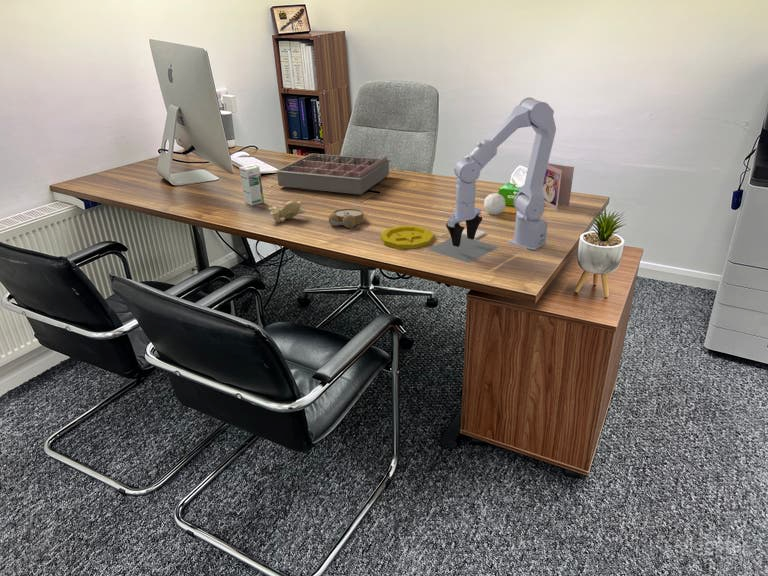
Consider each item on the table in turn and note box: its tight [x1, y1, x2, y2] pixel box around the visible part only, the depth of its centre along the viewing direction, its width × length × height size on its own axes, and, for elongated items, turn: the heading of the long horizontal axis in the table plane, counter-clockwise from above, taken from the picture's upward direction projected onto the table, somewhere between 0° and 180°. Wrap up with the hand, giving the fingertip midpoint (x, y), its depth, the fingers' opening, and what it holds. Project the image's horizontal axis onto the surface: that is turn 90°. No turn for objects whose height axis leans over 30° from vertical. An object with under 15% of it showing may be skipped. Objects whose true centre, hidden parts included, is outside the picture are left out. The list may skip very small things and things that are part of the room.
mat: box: [427, 235, 499, 264], centre depth 176 cm, size 16×16×1 cm
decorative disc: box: [380, 225, 435, 250], centre depth 184 cm, size 17×18×2 cm
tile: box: [461, 227, 487, 240], centre depth 187 cm, size 7×2×6 cm
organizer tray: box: [274, 153, 392, 195], centre depth 243 cm, size 32×40×10 cm
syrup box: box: [239, 164, 265, 206], centre depth 220 cm, size 6×6×14 cm
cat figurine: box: [268, 200, 306, 224], centre depth 203 cm, size 8×7×12 cm
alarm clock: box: [328, 208, 365, 229], centre depth 199 cm, size 11×5×15 cm
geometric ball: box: [483, 192, 506, 216], centre depth 203 cm, size 8×8×8 cm
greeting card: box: [542, 162, 575, 211], centre depth 209 cm, size 11×7×15 cm, turn 18°
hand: (463, 242), depth 175 cm, fingers open, 7 cm apart
